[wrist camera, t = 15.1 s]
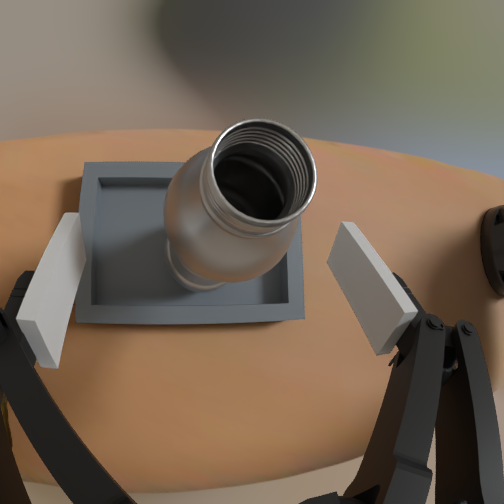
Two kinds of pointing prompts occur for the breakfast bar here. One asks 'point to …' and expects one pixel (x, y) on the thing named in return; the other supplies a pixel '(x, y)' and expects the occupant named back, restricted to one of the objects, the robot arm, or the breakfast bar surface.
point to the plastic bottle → (237, 205)
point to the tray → (162, 259)
